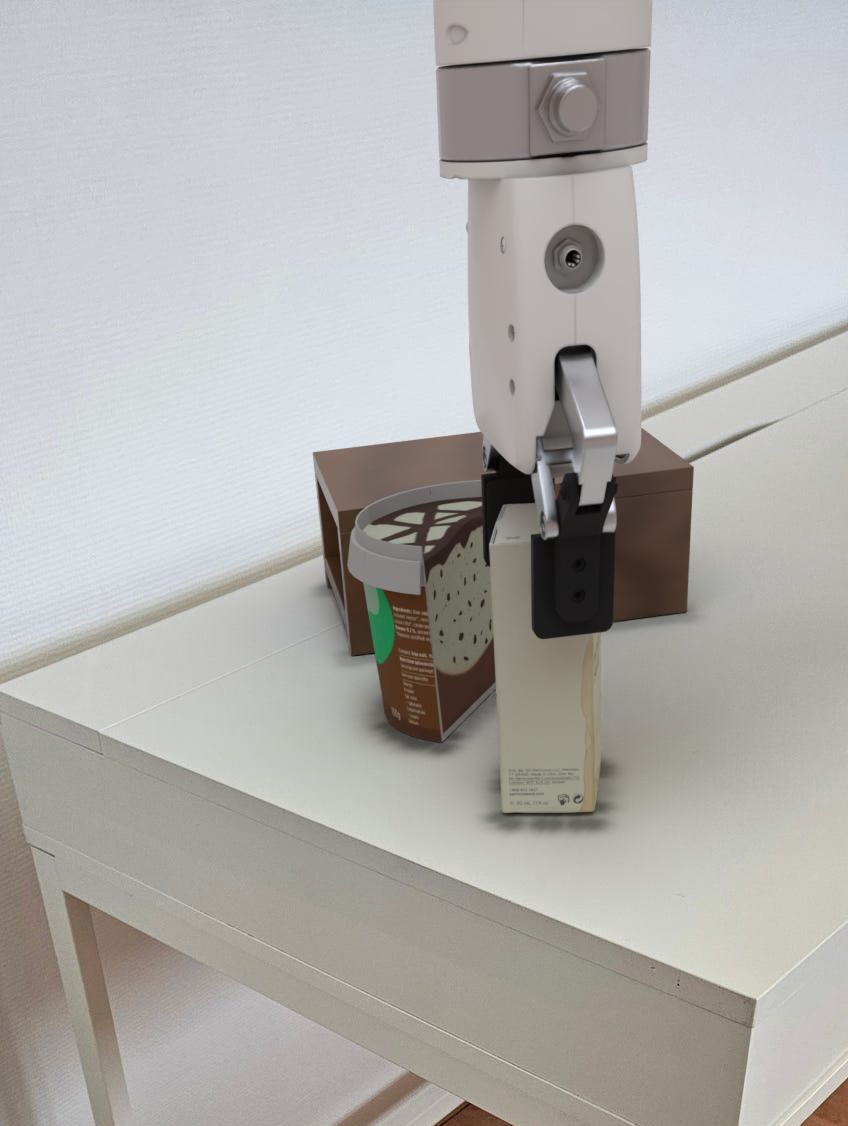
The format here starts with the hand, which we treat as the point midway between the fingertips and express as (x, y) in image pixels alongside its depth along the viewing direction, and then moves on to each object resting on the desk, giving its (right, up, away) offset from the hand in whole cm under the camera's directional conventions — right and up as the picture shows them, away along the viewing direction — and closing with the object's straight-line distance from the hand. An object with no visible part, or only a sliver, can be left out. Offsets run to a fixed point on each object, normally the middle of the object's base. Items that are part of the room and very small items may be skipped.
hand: (543, 595), depth 60 cm
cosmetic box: (+1, -7, +6) cm, 9 cm away
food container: (-5, -1, +15) cm, 16 cm away
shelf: (0, +9, +28) cm, 29 cm away
